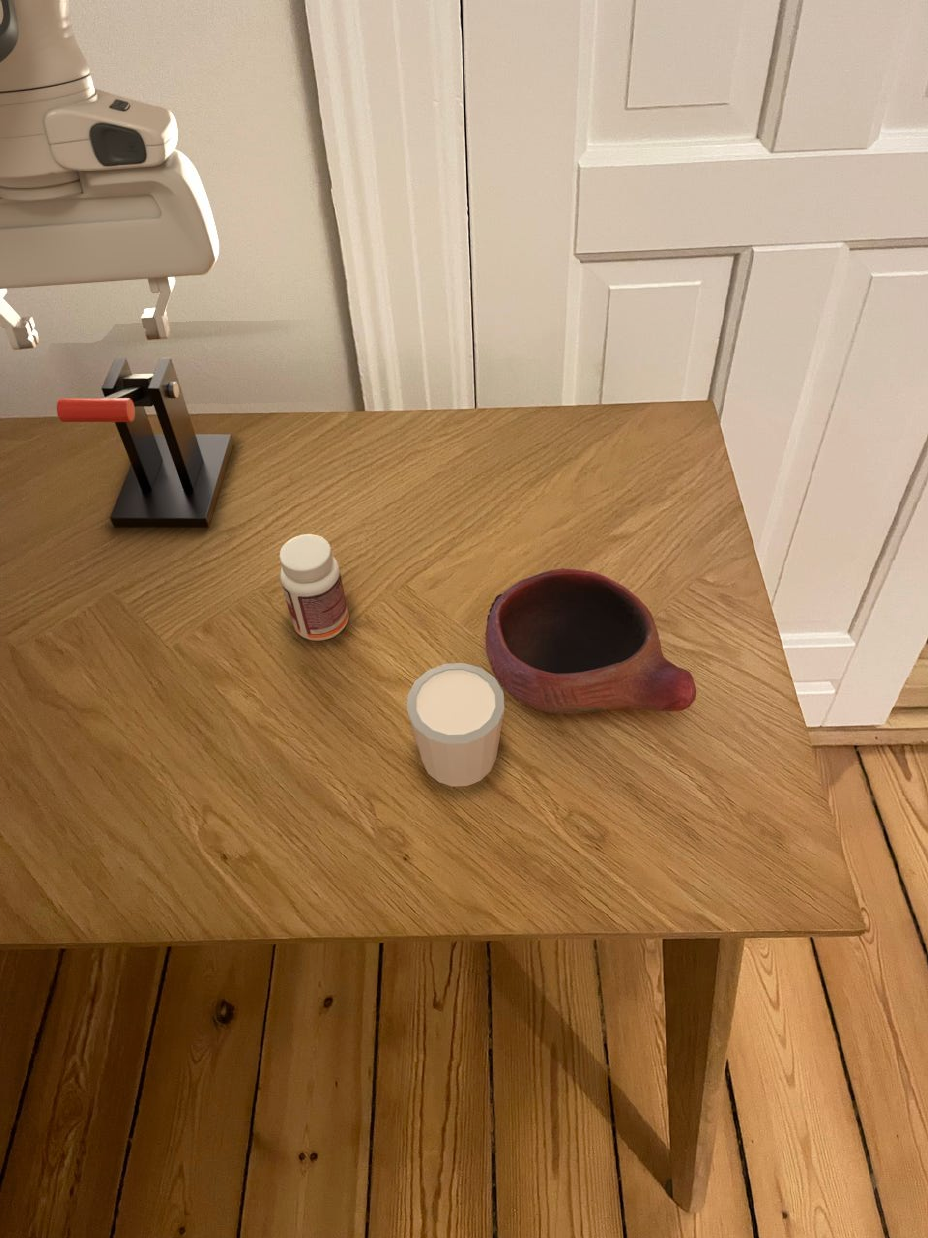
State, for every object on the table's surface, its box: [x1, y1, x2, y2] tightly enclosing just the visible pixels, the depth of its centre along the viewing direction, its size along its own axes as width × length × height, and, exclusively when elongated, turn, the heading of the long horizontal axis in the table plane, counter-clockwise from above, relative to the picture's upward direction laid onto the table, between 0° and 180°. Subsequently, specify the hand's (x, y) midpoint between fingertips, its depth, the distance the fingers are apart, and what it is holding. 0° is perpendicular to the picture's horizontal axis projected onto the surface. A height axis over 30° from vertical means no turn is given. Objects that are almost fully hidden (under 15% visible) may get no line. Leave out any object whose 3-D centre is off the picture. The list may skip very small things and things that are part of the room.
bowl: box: [485, 568, 697, 715], centre depth 72 cm, size 16×13×8 cm
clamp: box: [101, 357, 235, 529], centre depth 86 cm, size 12×9×13 cm
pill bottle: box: [279, 533, 349, 642], centre depth 76 cm, size 5×5×8 cm
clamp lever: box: [56, 373, 154, 423], centre depth 78 cm, size 12×6×2 cm, turn 178°
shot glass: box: [406, 662, 505, 788], centre depth 68 cm, size 7×7×7 cm
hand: (93, 341), depth 68 cm, fingers open, 8 cm apart
